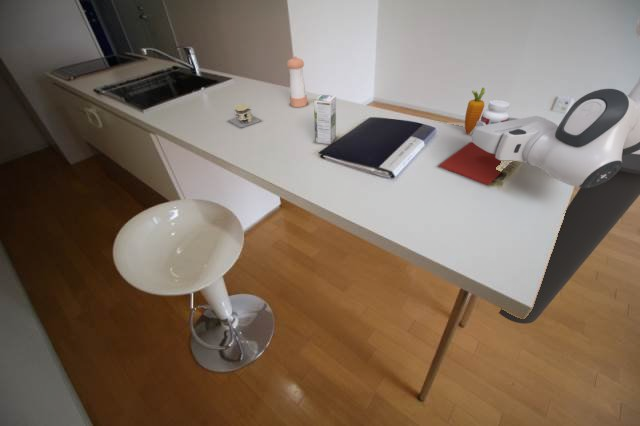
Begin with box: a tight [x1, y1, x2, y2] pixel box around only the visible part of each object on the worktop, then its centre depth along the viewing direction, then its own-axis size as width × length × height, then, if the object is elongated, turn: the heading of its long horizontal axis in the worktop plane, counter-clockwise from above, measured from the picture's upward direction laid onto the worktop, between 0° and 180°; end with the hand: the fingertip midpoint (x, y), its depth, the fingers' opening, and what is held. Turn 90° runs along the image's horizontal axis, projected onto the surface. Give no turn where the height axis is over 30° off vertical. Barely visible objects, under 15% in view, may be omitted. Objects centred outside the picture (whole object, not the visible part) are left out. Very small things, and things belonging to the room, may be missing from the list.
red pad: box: [438, 141, 502, 186], centre depth 84 cm, size 20×14×1 cm
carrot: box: [464, 87, 486, 135], centre depth 94 cm, size 5×5×15 cm
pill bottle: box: [480, 99, 511, 125], centre depth 77 cm, size 6×6×11 cm
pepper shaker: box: [286, 55, 308, 108], centre depth 123 cm, size 7×7×19 cm
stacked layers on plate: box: [229, 103, 261, 129], centre depth 114 cm, size 10×9×6 cm
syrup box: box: [313, 94, 337, 145], centre depth 95 cm, size 6×6×14 cm
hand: (490, 120), depth 77 cm, fingers closed on pill bottle, 6 cm apart
